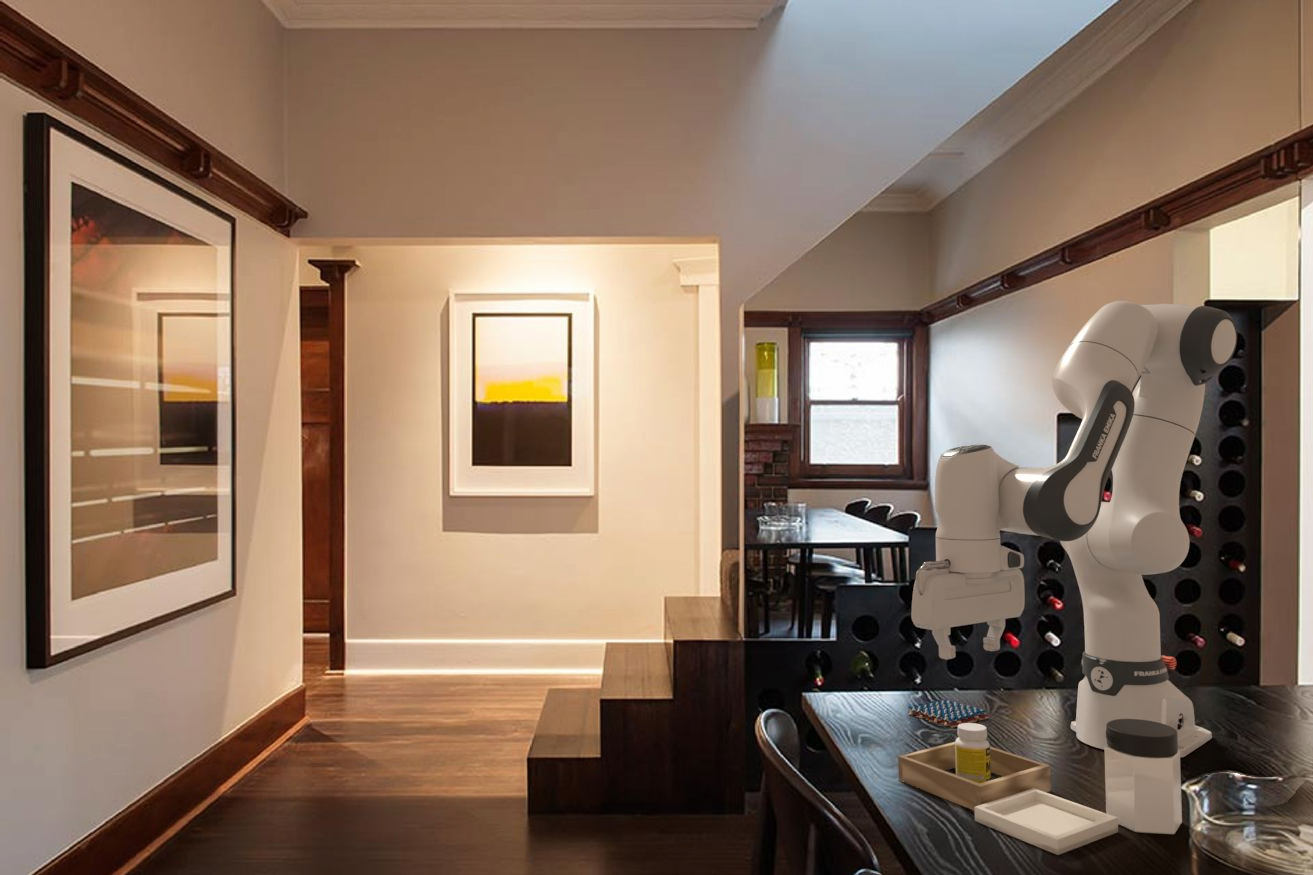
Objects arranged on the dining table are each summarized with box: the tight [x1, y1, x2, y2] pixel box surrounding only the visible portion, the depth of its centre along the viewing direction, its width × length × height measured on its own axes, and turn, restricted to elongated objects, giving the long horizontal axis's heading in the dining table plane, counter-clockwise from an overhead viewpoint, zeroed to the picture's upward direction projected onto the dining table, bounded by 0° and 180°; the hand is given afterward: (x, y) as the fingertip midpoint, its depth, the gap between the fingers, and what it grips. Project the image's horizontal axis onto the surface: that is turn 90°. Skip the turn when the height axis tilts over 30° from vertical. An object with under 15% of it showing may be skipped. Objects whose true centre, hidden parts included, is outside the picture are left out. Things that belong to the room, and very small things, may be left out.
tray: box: [974, 788, 1119, 856], centre depth 114 cm, size 12×12×2 cm
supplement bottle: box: [954, 722, 992, 784], centre depth 129 cm, size 5×5×8 cm
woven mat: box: [907, 699, 989, 728], centre depth 163 cm, size 10×11×2 cm
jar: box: [1103, 719, 1183, 835], centre depth 116 cm, size 9×8×12 cm
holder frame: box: [897, 741, 1052, 812], centre depth 129 cm, size 15×15×4 cm
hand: (969, 654), depth 129 cm, fingers open, 8 cm apart
